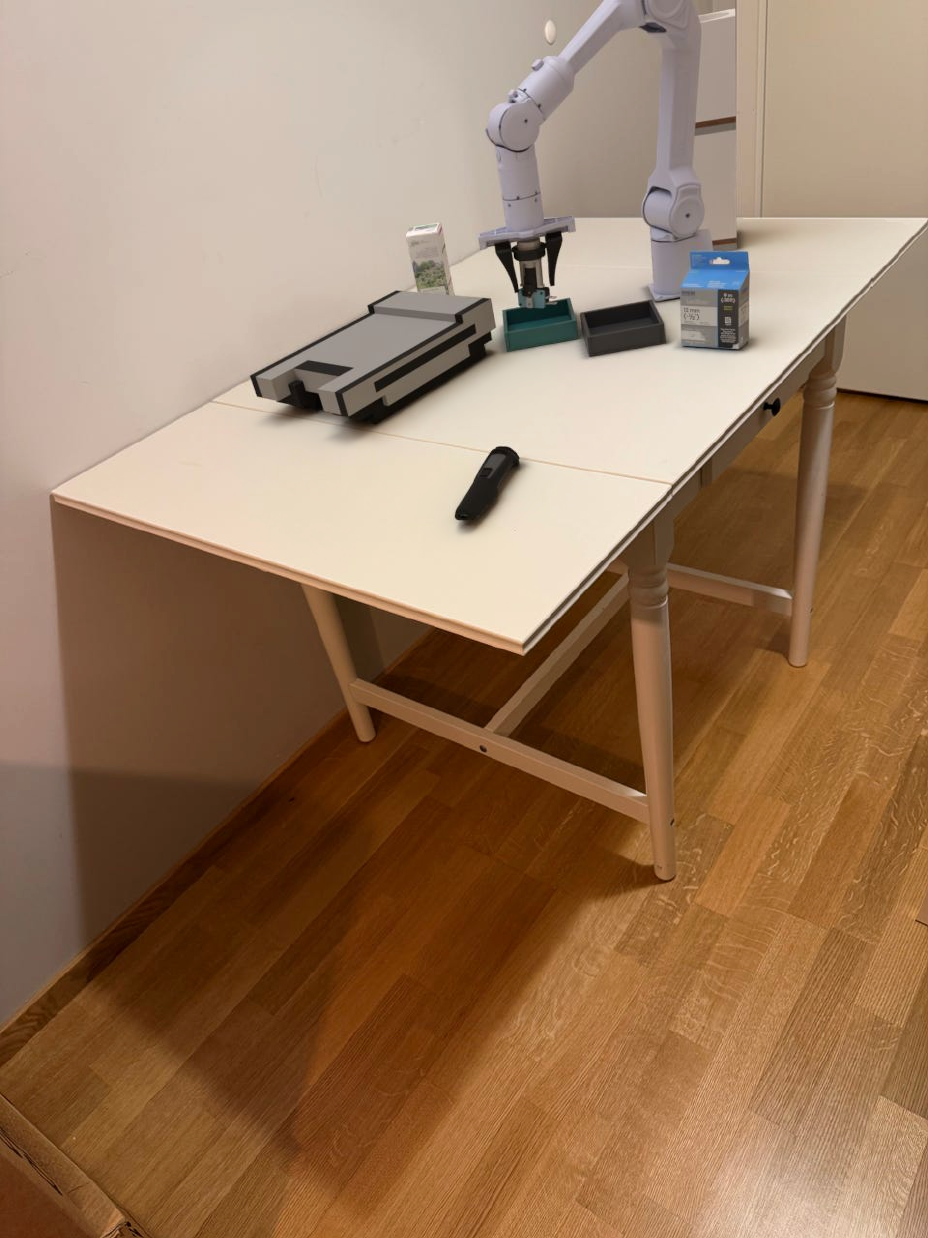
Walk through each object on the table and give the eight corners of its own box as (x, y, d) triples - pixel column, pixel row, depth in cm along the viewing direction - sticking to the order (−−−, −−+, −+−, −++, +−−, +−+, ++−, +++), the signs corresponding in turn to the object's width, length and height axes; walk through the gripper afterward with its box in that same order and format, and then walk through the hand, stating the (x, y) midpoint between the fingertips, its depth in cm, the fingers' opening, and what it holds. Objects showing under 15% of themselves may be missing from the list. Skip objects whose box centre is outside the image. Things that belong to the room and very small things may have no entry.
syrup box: (457, 303, 165) (441, 220, 156) (453, 314, 160) (437, 229, 152) (426, 308, 166) (409, 225, 157) (422, 319, 161) (404, 235, 153)
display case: (736, 231, 168) (735, 8, 147) (736, 249, 160) (735, 15, 139) (673, 239, 171) (663, 22, 150) (670, 257, 163) (659, 30, 142)
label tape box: (680, 346, 130) (676, 259, 123) (692, 335, 132) (689, 249, 125) (738, 351, 125) (738, 260, 118) (750, 339, 127) (750, 249, 120)
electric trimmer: (448, 531, 101) (442, 507, 99) (494, 462, 112) (490, 439, 110) (479, 533, 100) (474, 508, 98) (523, 462, 111) (519, 439, 109)
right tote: (653, 317, 141) (652, 299, 139) (665, 342, 132) (664, 323, 130) (581, 330, 142) (579, 312, 141) (589, 356, 133) (587, 337, 132)
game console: (264, 418, 138) (247, 367, 133) (407, 338, 155) (396, 290, 150) (355, 440, 125) (339, 385, 120) (500, 350, 142) (491, 298, 137)
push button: (564, 301, 143) (559, 234, 137) (548, 313, 139) (542, 245, 133) (527, 298, 146) (521, 234, 140) (511, 310, 143) (504, 244, 137)
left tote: (572, 314, 149) (570, 297, 147) (578, 338, 140) (576, 320, 138) (504, 327, 150) (502, 309, 148) (507, 351, 141) (504, 333, 140)
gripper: (472, 210, 130) (488, 304, 138) (572, 190, 129) (583, 286, 137) (472, 199, 136) (487, 290, 144) (568, 180, 134) (578, 272, 142)
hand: (534, 287), depth 141 cm, fingers closed on push button, 5 cm apart
